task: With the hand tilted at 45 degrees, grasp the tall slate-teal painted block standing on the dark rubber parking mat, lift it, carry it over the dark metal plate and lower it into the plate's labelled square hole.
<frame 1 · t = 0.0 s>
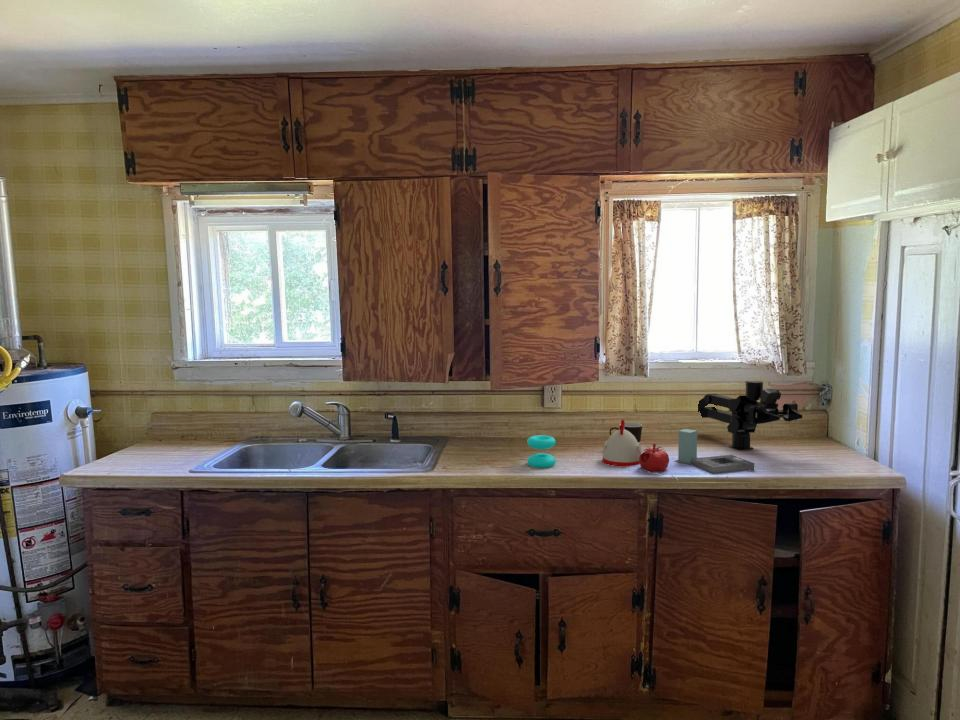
hand: (790, 417, 214), 17 cm above the worktop, tool horizontal, fingers open, 9 cm apart
kitchen timer: (622, 462, 224), on the worktop
parking mat: (687, 462, 221), on the worktop
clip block: (687, 461, 221), resting on parking mat
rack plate: (722, 467, 213), on the worktop
pomegranate: (653, 470, 212), on the worktop
coffee mug: (627, 450, 241), on the worktop
donuts: (541, 465, 221), on the worktop
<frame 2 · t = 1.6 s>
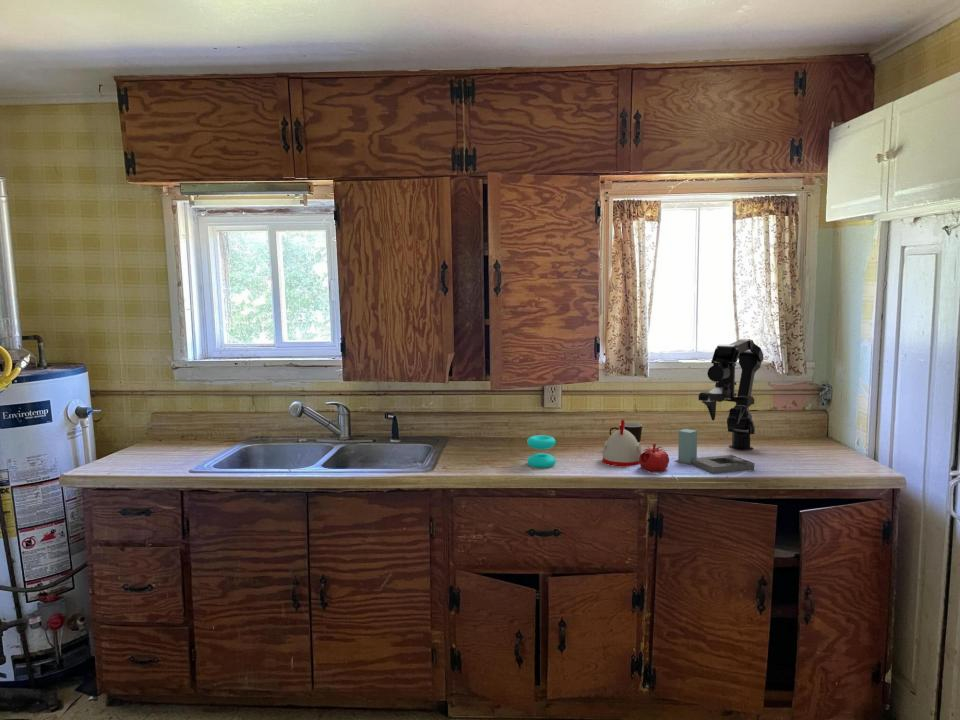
hand: (725, 422, 226), 13 cm above the worktop, tool pointing down, fingers open, 9 cm apart
nothing on the worktop moved.
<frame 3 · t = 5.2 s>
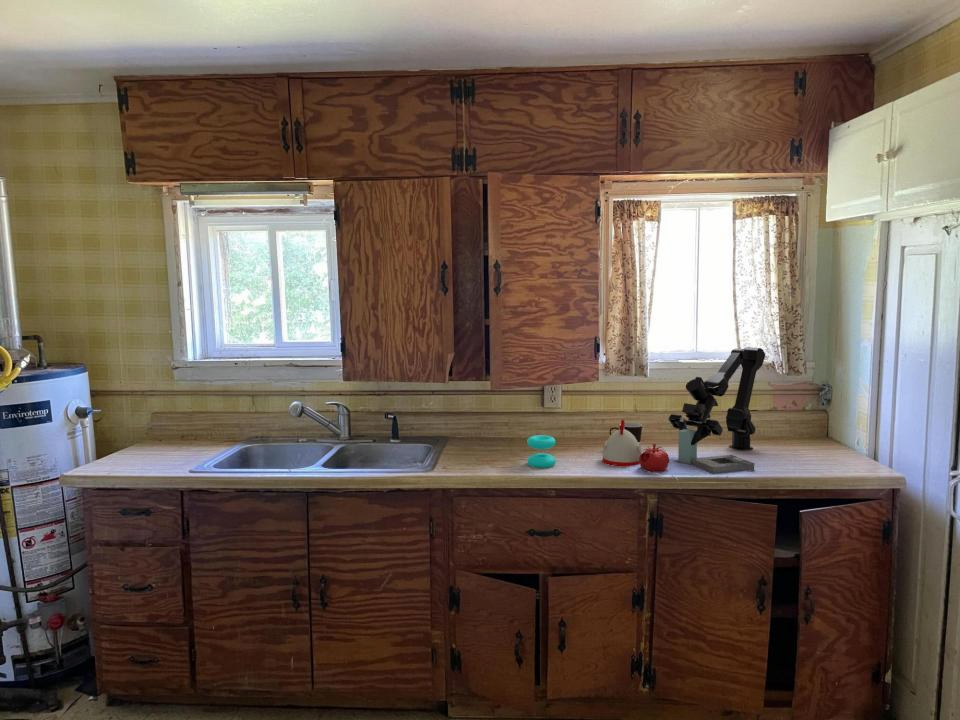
hand: (685, 443, 219), 7 cm above the worktop, tool tilted 45°, fingers closed on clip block, 4 cm apart
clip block: (687, 461, 221), resting on parking mat, touching gripper
everything else where it was.
when the fingers open (9 cm above the worktop, at t = 8.9 s): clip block drops 2 cm, resting in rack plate.
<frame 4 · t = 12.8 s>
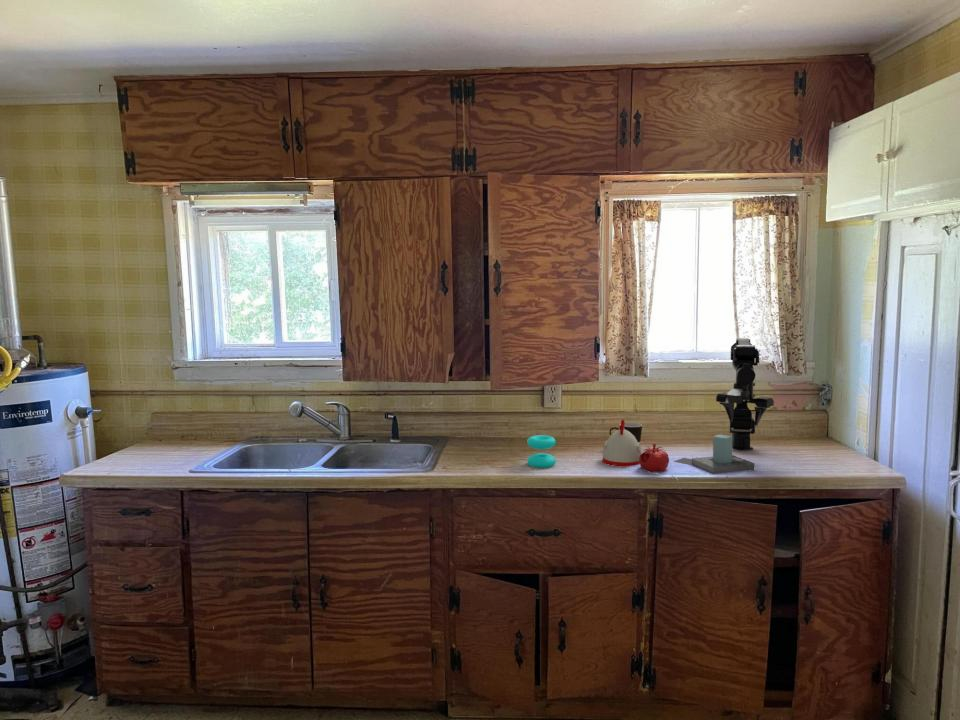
hand: (743, 423, 222), 13 cm above the worktop, tool pointing down, fingers open, 9 cm apart
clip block: (722, 468, 213), resting in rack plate
everything else where it was.
at the end: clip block 0.0 cm off-centre on the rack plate, point 0.0 cm above the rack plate's base; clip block tilted 0°; the gripper is holding nothing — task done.
